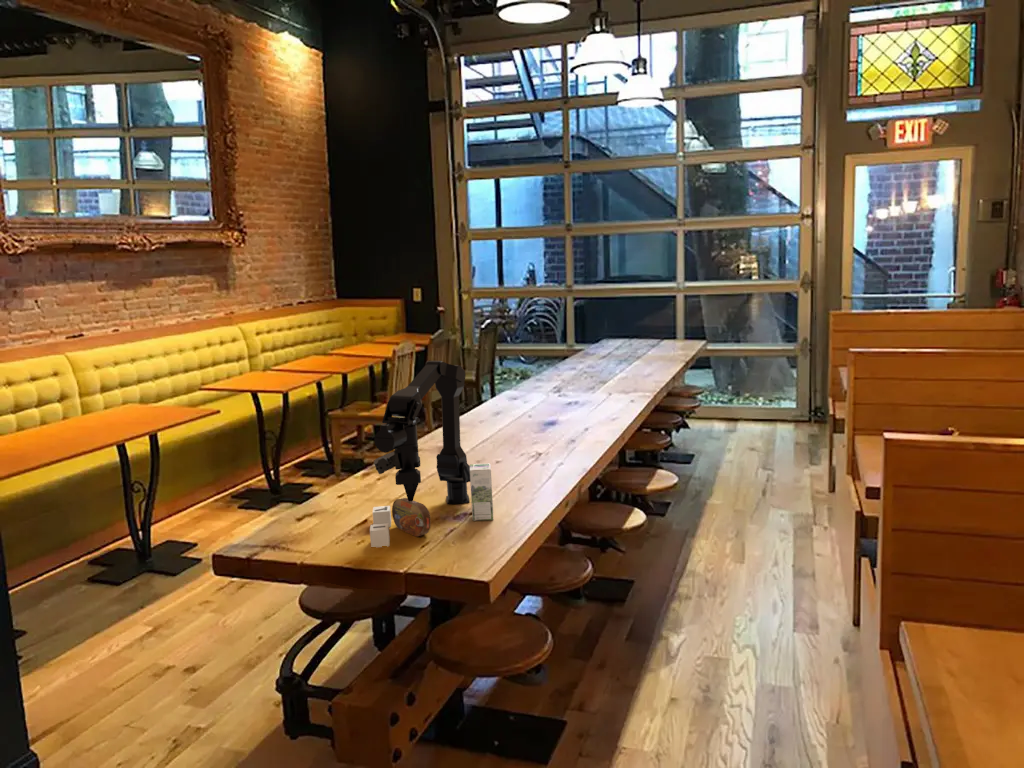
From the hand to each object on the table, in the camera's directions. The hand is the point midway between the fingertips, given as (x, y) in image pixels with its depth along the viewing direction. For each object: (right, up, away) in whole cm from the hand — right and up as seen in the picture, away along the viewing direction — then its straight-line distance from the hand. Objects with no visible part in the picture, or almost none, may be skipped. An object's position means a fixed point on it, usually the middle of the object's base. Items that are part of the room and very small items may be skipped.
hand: (410, 500), depth 215 cm
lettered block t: (-8, -8, +7) cm, 13 cm away
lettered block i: (-7, -10, -6) cm, 14 cm away
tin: (0, -8, +2) cm, 9 cm away
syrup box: (+19, -6, +9) cm, 22 cm away
